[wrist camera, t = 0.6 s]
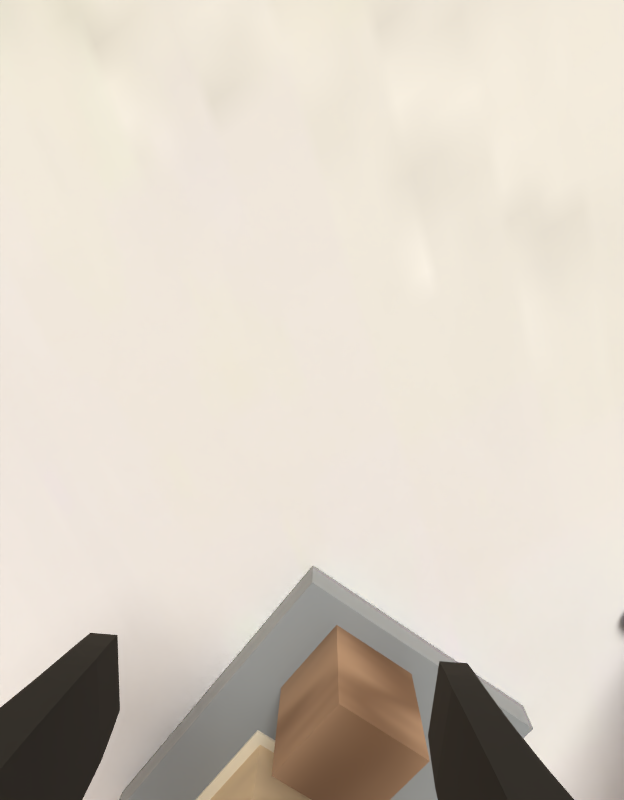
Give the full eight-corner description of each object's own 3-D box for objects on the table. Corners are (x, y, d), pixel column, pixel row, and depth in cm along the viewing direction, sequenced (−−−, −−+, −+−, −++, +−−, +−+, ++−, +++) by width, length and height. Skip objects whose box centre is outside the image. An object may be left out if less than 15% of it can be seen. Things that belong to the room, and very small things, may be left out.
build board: (523, 706, 24) (534, 730, 22) (316, 902, 27) (315, 933, 26) (313, 565, 22) (312, 583, 21) (122, 792, 26) (111, 819, 24)
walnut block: (411, 673, 22) (429, 761, 18) (354, 733, 23) (360, 828, 19) (336, 624, 21) (338, 703, 18) (281, 687, 22) (271, 776, 18)
